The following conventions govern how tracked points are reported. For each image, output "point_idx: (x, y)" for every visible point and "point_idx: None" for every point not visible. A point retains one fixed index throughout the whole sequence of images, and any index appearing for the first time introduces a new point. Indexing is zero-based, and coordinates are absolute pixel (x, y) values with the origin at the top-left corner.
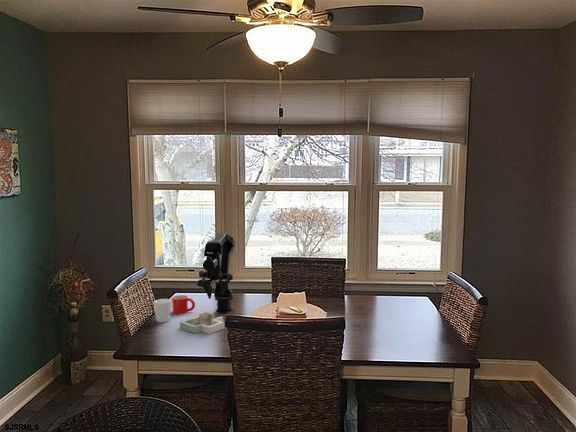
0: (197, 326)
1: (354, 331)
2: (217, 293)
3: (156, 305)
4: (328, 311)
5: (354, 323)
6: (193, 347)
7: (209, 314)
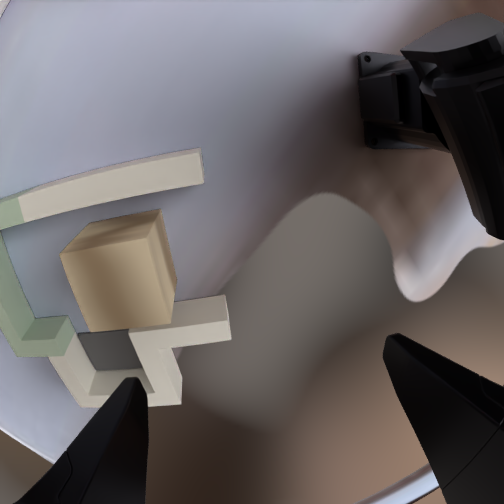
0: (29, 356)
1: (396, 484)
2: (455, 121)
3: None
4: None
5: None
6: (17, 415)
7: (129, 316)
